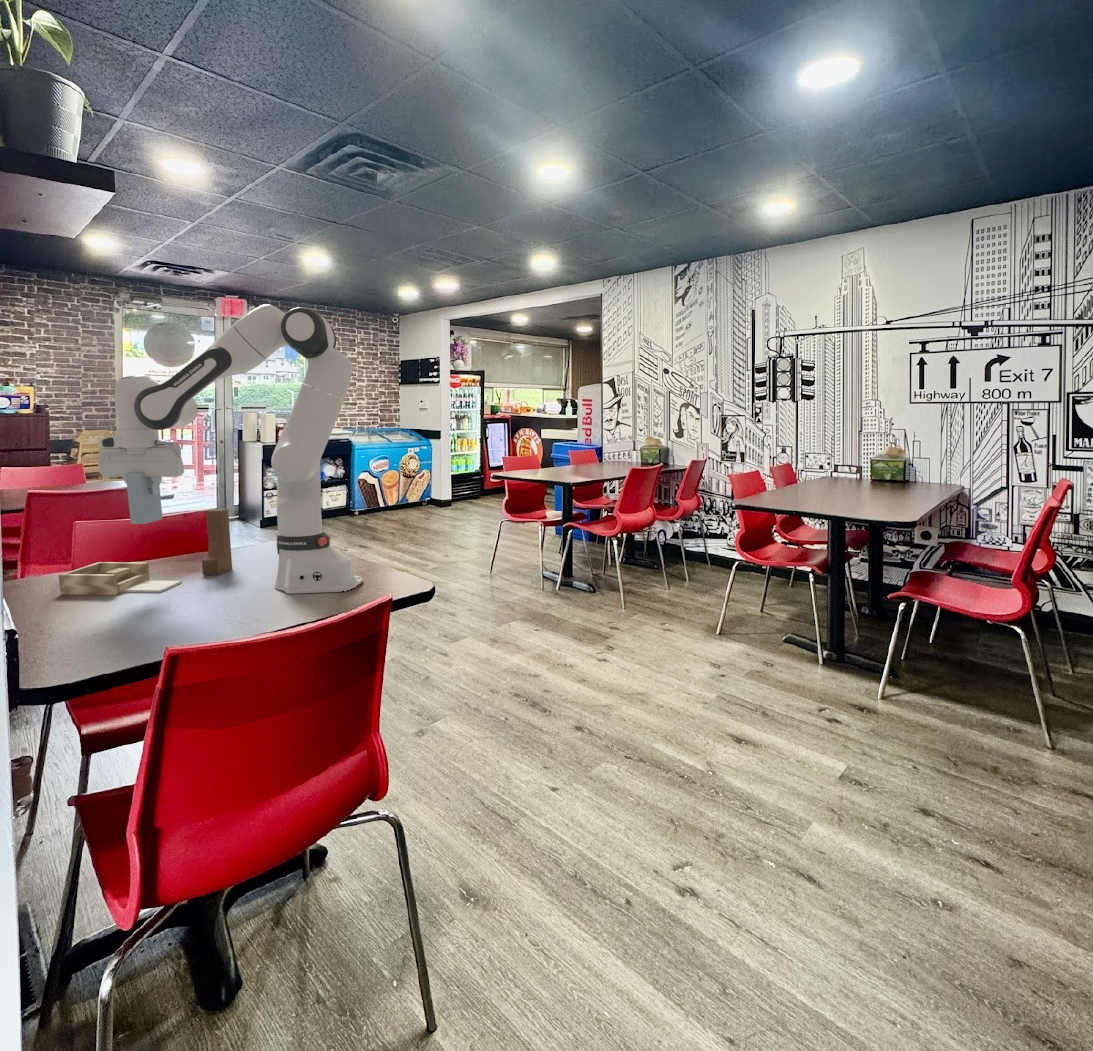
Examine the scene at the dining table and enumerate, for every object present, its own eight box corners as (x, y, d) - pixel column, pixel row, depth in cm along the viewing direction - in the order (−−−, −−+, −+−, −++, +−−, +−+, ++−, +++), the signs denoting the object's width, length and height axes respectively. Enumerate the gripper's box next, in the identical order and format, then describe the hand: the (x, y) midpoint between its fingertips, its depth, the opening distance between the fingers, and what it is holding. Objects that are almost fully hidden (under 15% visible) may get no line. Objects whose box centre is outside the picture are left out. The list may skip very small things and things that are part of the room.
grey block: (162, 519, 178) (157, 470, 176) (144, 524, 170) (139, 472, 168) (149, 519, 178) (144, 470, 176) (130, 523, 170) (125, 472, 168)
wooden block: (218, 575, 190) (213, 513, 187) (202, 575, 190) (197, 513, 187) (232, 568, 199) (228, 508, 196) (217, 568, 199) (213, 508, 196)
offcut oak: (131, 577, 179) (130, 568, 179) (115, 582, 174) (114, 572, 174) (120, 576, 180) (119, 567, 179) (105, 581, 174) (104, 572, 174)
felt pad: (181, 582, 182) (181, 580, 182) (160, 592, 172) (160, 590, 172) (145, 582, 182) (144, 580, 182) (121, 592, 172) (121, 589, 172)
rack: (151, 580, 185) (149, 562, 184) (116, 594, 170) (114, 575, 169) (99, 579, 185) (98, 562, 184) (60, 594, 170) (58, 575, 169)
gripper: (186, 440, 174) (190, 493, 176) (107, 439, 174) (113, 492, 176) (172, 441, 168) (177, 495, 170) (91, 440, 168) (97, 495, 170)
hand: (144, 494), depth 173 cm, fingers closed on grey block, 3 cm apart
